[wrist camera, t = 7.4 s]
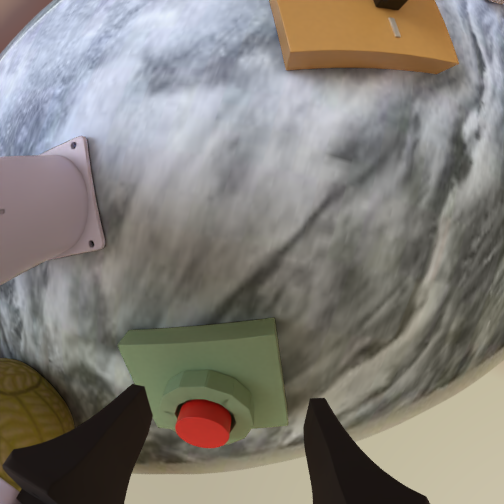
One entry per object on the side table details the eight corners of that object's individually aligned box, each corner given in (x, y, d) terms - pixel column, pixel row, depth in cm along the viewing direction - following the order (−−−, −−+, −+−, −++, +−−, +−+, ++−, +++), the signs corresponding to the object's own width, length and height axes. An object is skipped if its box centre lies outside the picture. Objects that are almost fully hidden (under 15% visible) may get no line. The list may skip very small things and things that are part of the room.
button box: (164, 411, 22) (152, 443, 18) (128, 329, 20) (106, 359, 16) (287, 406, 21) (289, 442, 17) (274, 317, 19) (276, 351, 15)
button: (189, 430, 18) (184, 447, 16) (174, 398, 17) (167, 416, 15) (236, 430, 18) (234, 448, 16) (225, 397, 17) (222, 417, 15)
